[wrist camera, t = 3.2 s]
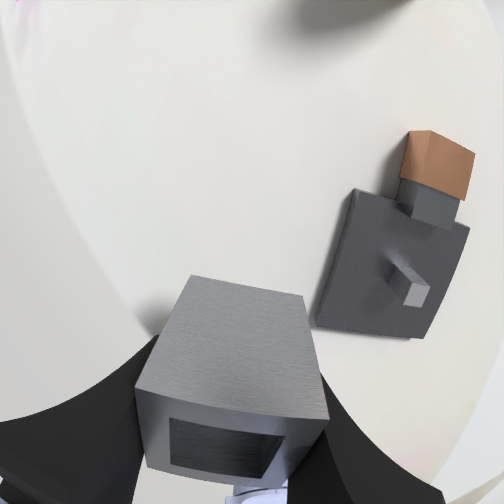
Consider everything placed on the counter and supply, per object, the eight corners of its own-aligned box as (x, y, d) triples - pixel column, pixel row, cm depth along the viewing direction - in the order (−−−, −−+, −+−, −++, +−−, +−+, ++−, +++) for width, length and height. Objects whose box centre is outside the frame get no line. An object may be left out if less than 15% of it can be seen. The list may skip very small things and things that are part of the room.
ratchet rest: (418, 331, 20) (436, 358, 16) (314, 318, 19) (322, 350, 16) (477, 164, 15) (509, 171, 12) (370, 116, 15) (395, 110, 11)
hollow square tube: (276, 375, 13) (279, 488, 7) (182, 358, 13) (147, 467, 7) (302, 296, 11) (329, 419, 6) (190, 274, 11) (134, 387, 5)
